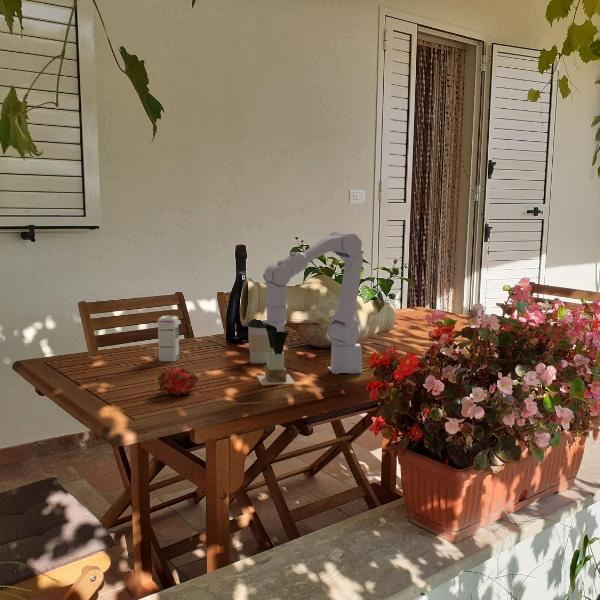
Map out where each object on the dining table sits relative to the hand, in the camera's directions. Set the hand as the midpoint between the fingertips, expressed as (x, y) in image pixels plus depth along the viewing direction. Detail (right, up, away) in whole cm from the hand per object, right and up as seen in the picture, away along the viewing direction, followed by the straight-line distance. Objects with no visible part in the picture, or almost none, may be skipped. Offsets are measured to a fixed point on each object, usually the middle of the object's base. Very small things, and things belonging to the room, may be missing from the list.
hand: (276, 350), depth 194 cm
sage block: (0, -5, +1) cm, 5 cm away
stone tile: (0, -9, +1) cm, 9 cm away
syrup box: (-37, -5, +25) cm, 45 cm away
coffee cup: (-6, -6, +23) cm, 25 cm away
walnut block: (0, -9, +1) cm, 9 cm away
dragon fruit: (-27, -11, -12) cm, 32 cm away
